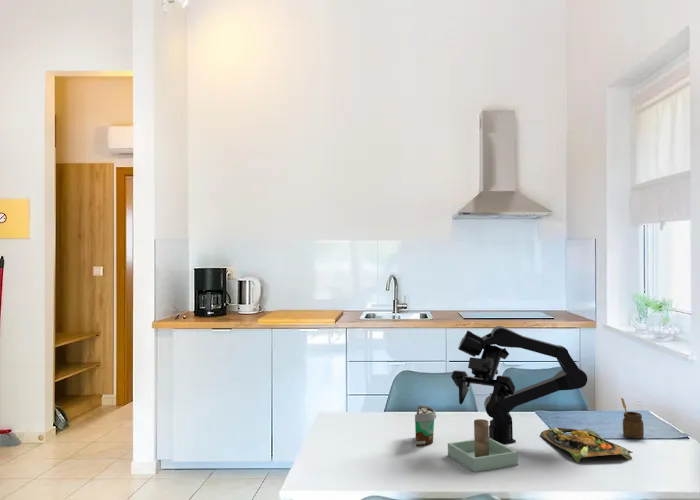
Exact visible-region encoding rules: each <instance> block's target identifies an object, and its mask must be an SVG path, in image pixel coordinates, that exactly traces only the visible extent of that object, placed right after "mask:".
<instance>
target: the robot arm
mask: <svg viewBox="0 0 700 500" xmlns="http://www.w3.org/2000/svg"><path fill="white" fill-rule="evenodd" d="M503 347H504V348H503ZM506 348H516V349H517V348H518V349H523V350H527V351H530V352H533V353H538V354H540V355H545V356H549V357H552V358H554V359H556V360H557V362H558V364H559V366H560V367H561V370H559V371H558V372H557V373H556V374H554V375H553V376H552V377H549V378H546V379H545V380H542V381H539V382H536V383H534V384H532V385H531V384H530V385H528V386H526V387H522V388H520V389H518V390H516V386H515V384H514V381H513V380H512V378H511V377H510V376H505V375H499V370H498V368H499V365H500V361H501V359H503V360H506V359H507V357H509V355H510V352H508V350H507V349H506ZM457 349H458V350H459V351H461V352H462V353H465V354H468V355H469V356H471V357H469V360H468V365H467V367H468V368H467V369H470V370H471V374H472V375H474V376H470V375H468V373H467V371H465V370H456V369H455V370H453V371H452V374H451V376H450V378H451V379H452V381H453V382H454V384H455V385H456V387H457V388H458V402H459V405H462V404H464V401H465V399H466V396H467V395H468V392H469V387H470V385H471V384H475V385H481V386H487V387H493V390H492V392H491V393H489V395H488V396H487V397H486V398H485V400H484V403H483V406H484V409H485V412H486V414H487V416H489V417H490V418H491V419H490V420H489V438H491V439H493V440H495V441H497V442H499V443H501V444H503V445H505V444H511V443H517V440H516V439H514V438H513V437H514V434H513V417H512V415H511V413H510V412H511V411H513V409H515V408H517V407H518V406H521V405H523V404H524V405H525V404H526V403H529V402H531V401H535V400H537V399H539V398H543V397H545V396H548V395H551V394H553V393H556V392H559V391H571V390H572V391H573V390H576V389H577V390H578V389H579V390H580V389H582V388H584V387H585V386H586V385H587V383H588V375H587V373H586V372H585V371H584V370H582V369H581V368H580V367H579V366H578V365H577V363H576V362H575V360H574V359H573V358H572V356H571V355H570V353H569V351H568V349H567V348H566V347H564V346H563V345H559V344H554V343H551V342H546V341H544V340H543V341H542V340H539V339H536V338H533V337H528V336H525V335H522V334H519V333H517V332H515V331H513V330H511V329H509V328H508V327H505V326H503V325H502V326H501V325H497V326H495V327H494V328H492V330H491V331H490V332H489V333H487V334H485V335H484V336H479V335H477V334H475V333H473V332H472V331H471V330H466V332H465V334H464V336H463V337H462V338H461V340H460V342H459V344H458V348H457ZM481 353H482V354H481ZM480 355H481V356H480ZM476 356H477V357H476ZM478 356H480V358H479V357H478ZM496 375H497V376H496ZM495 377H496V378H495Z"/></svg>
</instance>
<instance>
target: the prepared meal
mask: <svg viewBox="0 0 700 500" xmlns="http://www.w3.org/2000/svg"><path fill="white" fill-rule="evenodd" d="M566 432H571V433H570V434H572V435H569V434H564V433H566ZM575 435H577V436H575ZM539 437H541V438H543V439H545V440H547V441H548V442H550V443H551V444H553V445H554V446H555V447H558V449H561V450H564V451H566V452H569V454H570V455H571V456H572V458H573V459H574V461H576V464H578V463H579V462H580V461H581V458H589V457H591V458H592V457H598V456H602V457H603V456H614V455H622V456H623V457H624V458H625V459H626V460H629V461H630V460H632V459H633V457H632V455H631V454H632V453H634V452H633V451H631V450H629V449H628V448H626V447H623V446H621V445H618V444H617V443H613V442H611V441H609V440H606V439H605V438H603V437H602V436H601V435H600V434H598V433H597V432H596V431H594V430H592V429H590V428H585V429H581V430H580V429H574V428H563V427H553V428H549V429H546V430H542V431H541V433H540V434H539Z"/></svg>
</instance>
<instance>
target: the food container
mask: <svg viewBox="0 0 700 500" xmlns="http://www.w3.org/2000/svg"><path fill="white" fill-rule="evenodd" d="M436 418H437V413H436V410H435V409H434V407H432V406H429V405H421V404H418V405H417V411H416V414H414V423H415V425H414V427H415V428H414V429H415V447H418V448H419V447H427V446H428V447H429V446H431V445H433V444H434V431H435V419H436Z"/></svg>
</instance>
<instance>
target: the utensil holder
mask: <svg viewBox="0 0 700 500" xmlns="http://www.w3.org/2000/svg"><path fill="white" fill-rule="evenodd" d="M620 400H621V404H622V407H623V408H624V411H625V412H623V417H624V418H623V419H622V434H623V436H625V437H626V438H631V439H642V438H644V435H645V434H644V433H645V432H644V431H645V429H644V427H645V426H644V421H643V415H642V414H641V412H640V411H642V410H643V408H641V407H643V406H644V405H643V403H642V402H641V401H639V400H637V401H635V402H634V404H636V408H637V407H638V404H639V408H638V409H640V408H641V410H639V411H637V410H636V408H635V406H634V407H633V411H627V406H626V402H625V400H624V398H623V397H620Z"/></svg>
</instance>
